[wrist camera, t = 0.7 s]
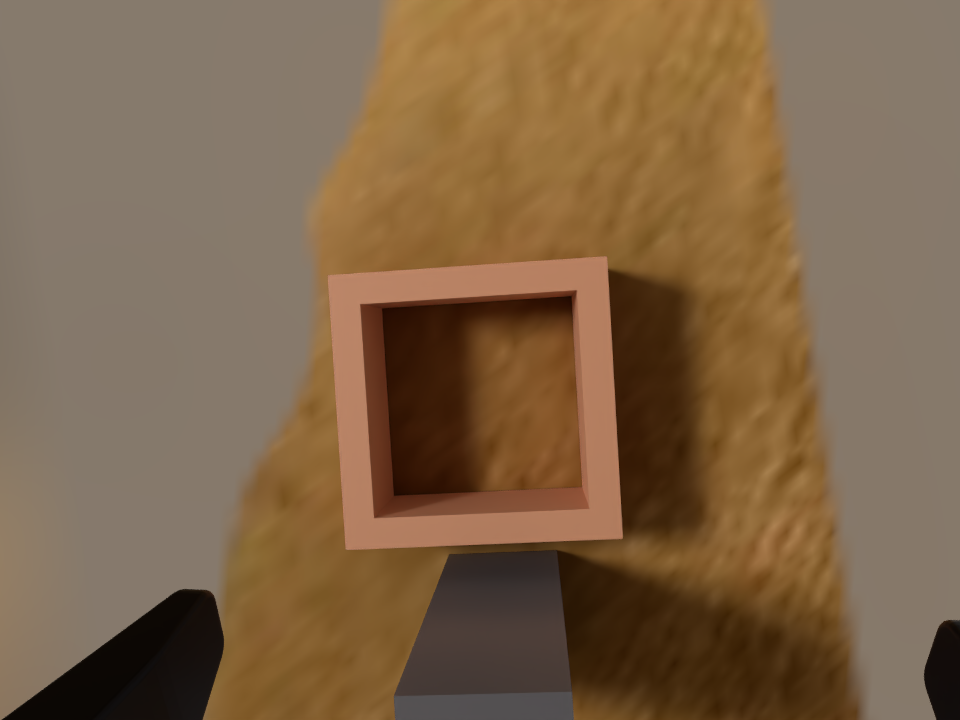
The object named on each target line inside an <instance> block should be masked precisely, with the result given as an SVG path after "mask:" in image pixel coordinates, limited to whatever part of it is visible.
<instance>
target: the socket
mask: <svg viewBox="0 0 960 720" xmlns="http://www.w3.org/2000/svg"><path fill="white" fill-rule="evenodd" d="M328 286H329V301H330V316H331V331H332V347H333V362H334V377H335V392H336V407H337V423H338V438H339V453H340V468H341V484H342V499H343V514H344V529H345V544H346V550H357V549H381V548H406V547H431V546H455V545H480V544H505V543H529V542H554V541H579V540H603V539H623V532H622V514H621V496H620V479H619V461H618V443H617V425H616V407H615V389H614V372H613V354H612V336H611V318H610V300H609V283H608V265H607V256H605V257H590V258H575V259H561V260H546V261H531V262H517V263H502V264H487V265H473V266H458V267H443V268H429V269H414V270H399V271H385V272H370V273H355V274H341V275H328ZM566 296H571V297H572V314H573V332H574V349H575V367H576V384H577V402H578V419H579V436H580V454H581V471H582V487H574V488H552V489H530V490H508V491H486V492H464V493H443V494H421V495H399V496H394V489H393V473H392V457H391V442H390V426H389V411H388V395H387V379H386V364H385V348H384V332H383V317H382V308H396V307H411V306H427V305H442V304H458V303H473V302H489V301H504V300H520V299H535V298H551V297H566Z"/></svg>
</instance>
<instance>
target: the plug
mask: <svg viewBox="0 0 960 720" xmlns="http://www.w3.org/2000/svg"><path fill="white" fill-rule="evenodd" d="M394 705H395V720H574V717H573V700H572V687H571V678H570V668H569V659H568V650H567V640H566V631H565V621H564V612H563V603H562V593H561V584H560V575H559V565H558V556H557V550H549V551H524V552H498V553H473V554H449V556H448V559H447V561H446V564H445V567H444V569H443V572H442V574H441V577H440V579H439V582H438V585H437V587H436V590H435V592H434V595H433V597H432V600H431V602H430V605H429V608H428V610H427V613H426V615H425V618H424V620H423V623H422V626H421V628H420V631H419V633H418V636H417V638H416V641H415V644H414V646H413V649H412V651H411V654H410V656H409V659H408V661H407V664H406V667H405V669H404V672H403V674H402V677H401V679H400V682H399V685H398V687H397V690H396V692H395V695H394Z"/></svg>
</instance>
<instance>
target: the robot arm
mask: <svg viewBox="0 0 960 720" xmlns="http://www.w3.org/2000/svg"><path fill="white" fill-rule="evenodd" d="M223 649H224V636H223V631H222V627H221V622H220V618H219V614H218V609H217V605H216V601H215V598H214V595H213V594H212V593H211V592H210V591H208V590H194V589H182V590H179V591H177V592H175V593H173V594H172V595H170V596H169V597H168V598H166V599H165V600H164V601H162V602H161V603H160V604H158V605H157V606H155V607H154V608H153V609H151V610H150V611H149V612H148V613H146V614H145V615H143V616H142V617H141V618H139V619H138V620H136V621H135V622H134V623H133V624H131V625H130V626H128V627H127V628H126V629H124V630H123V631H121V632H120V633H119V634H117V635H116V636H115V637H113V638H112V639H111V640H109V641H108V642H107V643H105V644H104V645H102V646H101V647H100V648H98V649H97V650H96V651H94V652H93V653H92V654H90V655H89V656H88V657H86V658H85V659H84V660H82V661H81V662H79V663H78V664H77V665H75V666H74V667H73V668H71V669H70V670H69V671H67V672H66V673H64V674H63V675H62V676H60V677H59V678H58V679H56V680H55V681H54V682H52V683H51V684H50V685H48V686H47V687H45V688H44V689H43V690H41V691H40V692H39V693H37V694H36V695H35V696H33V697H32V698H31V699H29V700H28V701H27V702H25V703H24V704H23V705H21V706H20V707H18V708H17V709H16V710H14V711H13V712H12V713H10V714H9V715H7V716H6V717H5V718H3V719H2V720H203V717H204V713H205V710H206V707H207V704H208V700H209V697H210V694H211V691H212V687H213V684H214V681H215V677H216V674H217V671H218V668H219V664H220V661H221V658H222V654H223ZM924 681H925V686H926V690H927V693H928V696H929V699H930V702H931V705H932V708H933V711H934V713H935V717H936V720H960V620H959V621H958V620H948V621H944V622H943V623H942V624H941V625H940V626H939V628H938V630H937V633H936V636H935V639H934V642H933V645H932V648H931V651H930V654H929V657H928V660H927V663H926V666H925V670H924Z"/></svg>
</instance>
